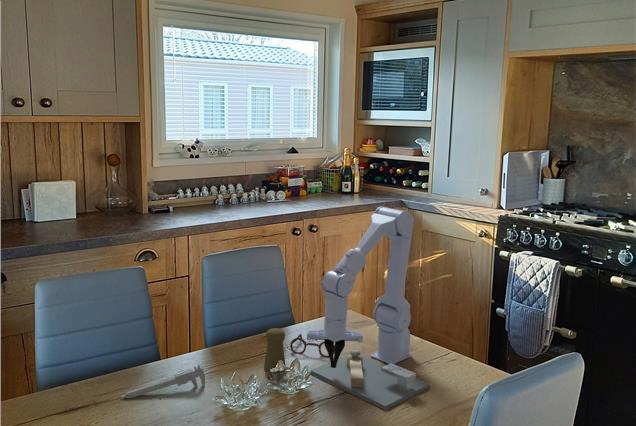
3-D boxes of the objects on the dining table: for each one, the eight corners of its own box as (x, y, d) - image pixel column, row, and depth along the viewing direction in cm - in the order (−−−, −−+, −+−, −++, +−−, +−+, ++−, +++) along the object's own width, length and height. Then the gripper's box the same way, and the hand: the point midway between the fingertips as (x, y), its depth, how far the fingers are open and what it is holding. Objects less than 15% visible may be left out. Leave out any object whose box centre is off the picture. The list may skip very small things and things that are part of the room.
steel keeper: (380, 382, 158) (381, 367, 158) (390, 377, 161) (391, 363, 160) (405, 393, 153) (406, 377, 152) (414, 388, 155) (415, 373, 155)
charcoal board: (355, 356, 177) (355, 352, 176) (429, 387, 158) (429, 384, 158) (310, 373, 164) (310, 370, 164) (385, 409, 146) (385, 406, 146)
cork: (282, 373, 163) (283, 335, 162) (260, 371, 165) (261, 332, 163) (288, 364, 169) (289, 327, 167) (267, 362, 170) (267, 324, 169)
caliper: (204, 386, 156) (204, 363, 154) (205, 388, 155) (205, 364, 153) (120, 398, 148) (119, 374, 147) (120, 400, 147) (120, 375, 146)
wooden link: (346, 361, 169) (346, 348, 169) (362, 362, 169) (362, 348, 169) (348, 386, 155) (349, 372, 154) (365, 387, 155) (366, 372, 154)
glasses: (289, 354, 177) (290, 338, 177) (300, 338, 190) (301, 322, 189) (333, 359, 175) (334, 343, 174) (342, 343, 187) (342, 327, 186)
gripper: (307, 321, 154) (305, 371, 157) (364, 323, 154) (361, 373, 156) (308, 312, 161) (306, 360, 163) (362, 314, 161) (360, 362, 163)
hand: (333, 366), depth 160 cm, fingers closed
